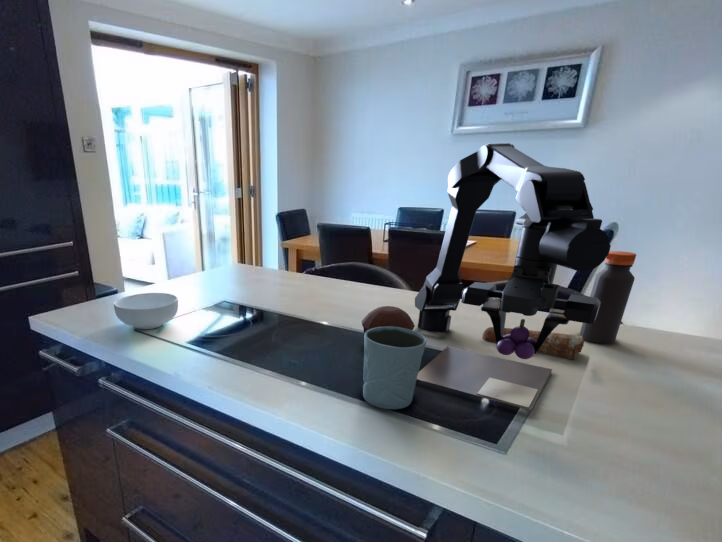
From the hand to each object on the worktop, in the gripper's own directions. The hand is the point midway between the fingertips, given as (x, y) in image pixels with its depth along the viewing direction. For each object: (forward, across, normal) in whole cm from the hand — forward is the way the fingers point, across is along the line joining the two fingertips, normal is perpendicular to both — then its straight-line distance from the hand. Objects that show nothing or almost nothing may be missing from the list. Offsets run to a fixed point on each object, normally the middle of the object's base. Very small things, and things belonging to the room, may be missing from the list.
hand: (516, 349), depth 75 cm
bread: (+10, -1, +25) cm, 27 cm away
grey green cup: (+10, -16, -13) cm, 23 cm away
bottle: (+10, +10, +43) cm, 45 cm away
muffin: (+10, -26, +7) cm, 29 cm away
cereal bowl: (+10, -85, -14) cm, 87 cm away
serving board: (+9, -5, +5) cm, 12 cm away
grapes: (+1, 0, 0) cm, 1 cm away
